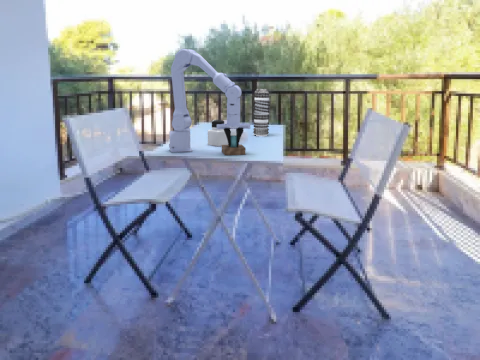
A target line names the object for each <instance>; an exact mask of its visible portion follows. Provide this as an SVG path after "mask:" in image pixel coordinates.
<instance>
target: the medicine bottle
mask: <svg viewBox="0 0 480 360" xmlns="http://www.w3.org/2000/svg"><path fill="white" fill-rule="evenodd" d="M217 124H225V121H224V120H223V119H213V120H212V121H211V129H208V130H207V145H208V146H213V147H222V145H228V140H227V137H226V134H225V132H224V129H217Z"/></svg>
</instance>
